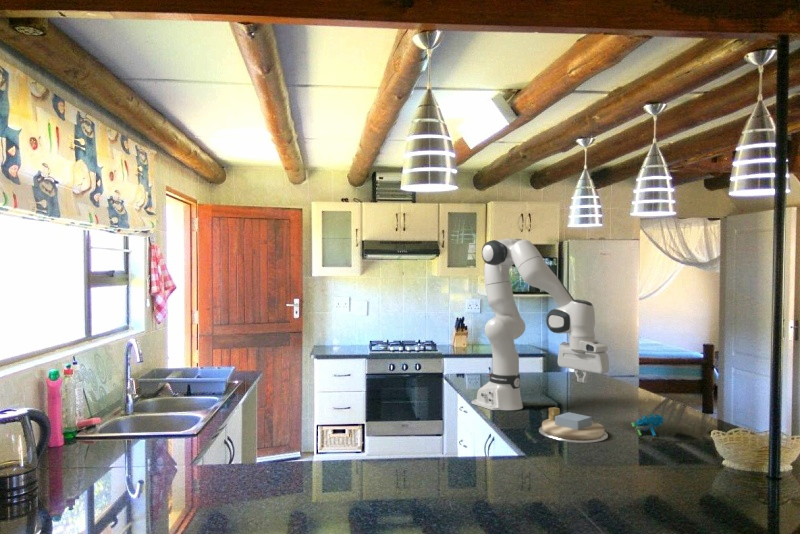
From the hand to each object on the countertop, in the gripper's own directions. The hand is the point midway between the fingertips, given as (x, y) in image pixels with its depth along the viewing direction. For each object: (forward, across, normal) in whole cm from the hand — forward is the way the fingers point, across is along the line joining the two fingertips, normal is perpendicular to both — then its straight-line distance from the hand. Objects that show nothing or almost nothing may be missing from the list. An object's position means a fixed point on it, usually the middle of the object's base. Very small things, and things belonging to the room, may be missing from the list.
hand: (582, 382), depth 193 cm
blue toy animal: (+17, +17, +14) cm, 28 cm away
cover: (+14, +2, -7) cm, 16 cm away
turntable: (+17, +2, -8) cm, 18 cm away
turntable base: (+17, +2, -8) cm, 18 cm away
